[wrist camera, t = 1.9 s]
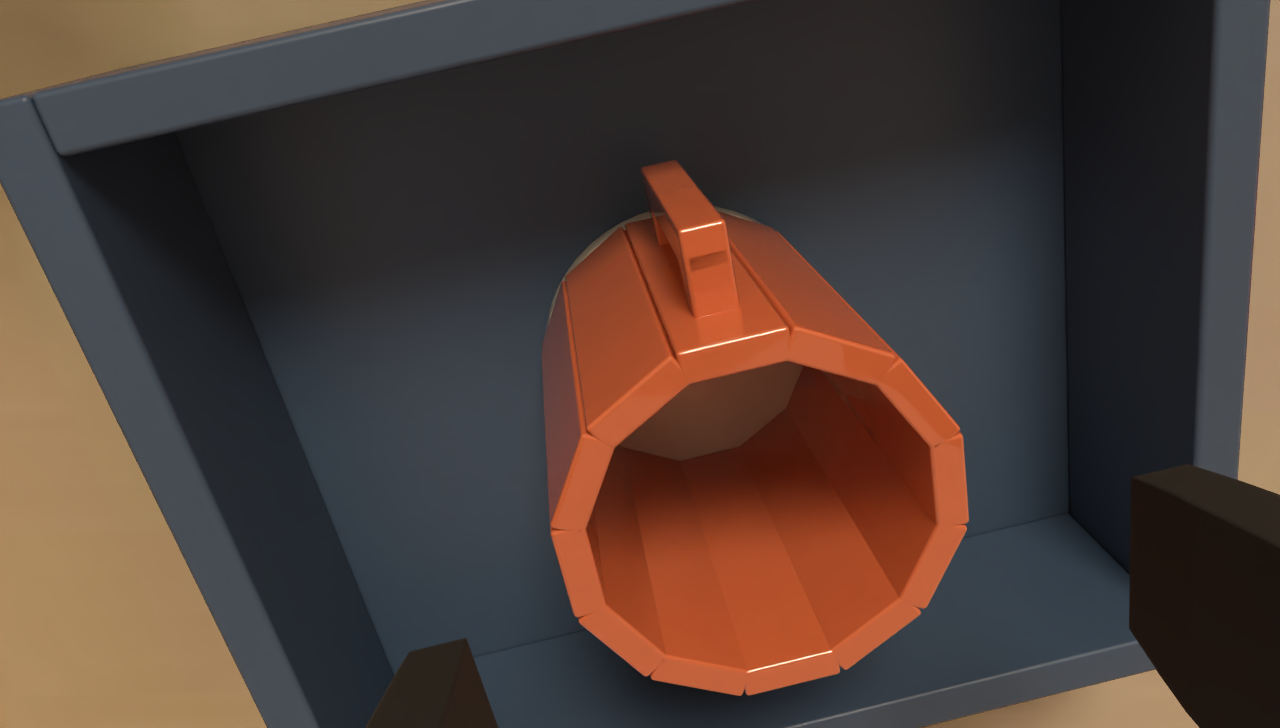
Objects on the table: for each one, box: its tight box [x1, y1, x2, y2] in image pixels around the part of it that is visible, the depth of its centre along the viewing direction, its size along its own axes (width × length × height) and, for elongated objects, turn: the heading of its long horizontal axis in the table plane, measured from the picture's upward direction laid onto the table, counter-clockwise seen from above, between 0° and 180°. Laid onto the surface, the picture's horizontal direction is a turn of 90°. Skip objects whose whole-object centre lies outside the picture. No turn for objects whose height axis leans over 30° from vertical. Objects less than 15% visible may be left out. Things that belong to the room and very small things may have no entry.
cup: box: [541, 160, 969, 696], centre depth 15 cm, size 5×6×6 cm
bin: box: [0, 0, 1270, 728], centre depth 16 cm, size 17×14×4 cm
